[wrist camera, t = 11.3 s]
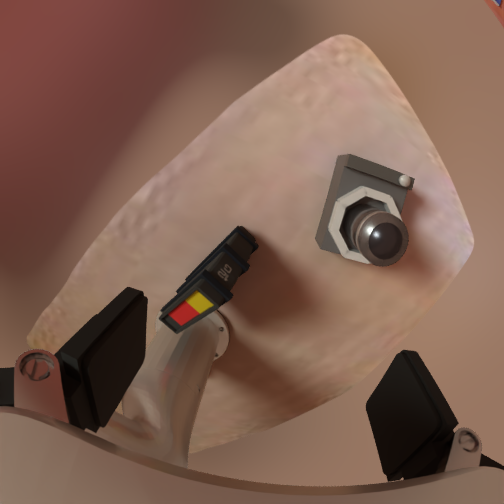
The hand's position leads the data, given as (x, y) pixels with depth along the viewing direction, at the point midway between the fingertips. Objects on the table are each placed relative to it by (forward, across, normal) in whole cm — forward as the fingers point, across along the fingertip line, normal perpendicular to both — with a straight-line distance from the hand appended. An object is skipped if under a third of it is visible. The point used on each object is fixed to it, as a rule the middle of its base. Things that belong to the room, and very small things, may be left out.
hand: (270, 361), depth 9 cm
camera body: (+30, -11, -4) cm, 32 cm away
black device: (+31, +6, +9) cm, 32 cm away
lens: (+25, -11, -2) cm, 28 cm away
